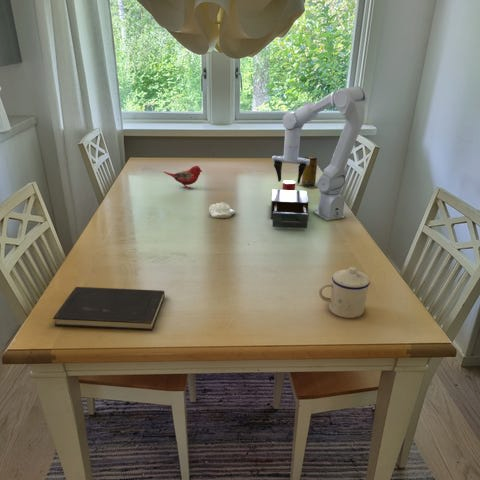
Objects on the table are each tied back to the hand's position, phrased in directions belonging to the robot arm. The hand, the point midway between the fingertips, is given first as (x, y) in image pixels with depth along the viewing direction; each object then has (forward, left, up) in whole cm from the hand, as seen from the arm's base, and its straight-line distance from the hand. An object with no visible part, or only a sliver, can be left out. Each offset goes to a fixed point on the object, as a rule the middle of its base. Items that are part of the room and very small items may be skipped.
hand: (289, 181), depth 189 cm
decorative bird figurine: (+32, +33, -8) cm, 47 cm away
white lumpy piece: (-4, +30, -8) cm, 32 cm away
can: (0, 0, -8) cm, 8 cm away
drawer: (-23, +12, -7) cm, 27 cm away
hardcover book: (-59, +82, -8) cm, 102 cm away
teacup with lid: (-80, +29, -8) cm, 85 cm away
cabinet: (-12, +6, -8) cm, 16 cm away
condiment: (+17, -21, -8) cm, 28 cm away
